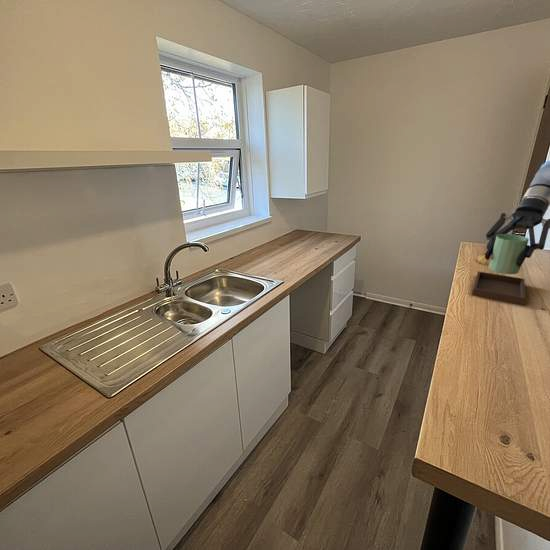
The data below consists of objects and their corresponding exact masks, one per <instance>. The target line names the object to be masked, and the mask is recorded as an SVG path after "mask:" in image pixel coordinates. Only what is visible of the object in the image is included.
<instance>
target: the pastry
mask: <svg viewBox="0 0 550 550" xmlns="http://www.w3.org/2000/svg"><path fill="white" fill-rule="evenodd" d="M485 254H486V252H483V253H481V254H480V255H478V257H477V258H476V260H477V262H478V263H481V264H483V265H486V266H489V262H490V258H491V256H490V258H489V259H488V260H487V259H485Z"/></svg>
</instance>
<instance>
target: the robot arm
mask: <svg viewBox="0 0 550 550" xmlns="http://www.w3.org/2000/svg"><path fill="white" fill-rule="evenodd" d="M549 207H550V160H548V161H546V162H544V163H543V164H542V165H541V166H540V167H539V169H538V170H537V171H536V173H535V175H534V177H533V179H532V181H531V182H530V184H529V187H528V188H527V190H526V191H525V193H524V195H523V197H522V198H521V201H520V202H519V203H518V205H517V207H516V209H515V211H514V212H513V213H511V214H506V213H505V212H502V213H501V214H500V216H499V219H498V220H497V221H496V222H495V223H494V224H493V226H491V228H490V229H489V230H488V231H487V233H486V234H485V238H486V240H488V242H487V244H486V252H485V253H486V254H485V259H487V260H488V259H489V258H490V256H491V254H492V250H493V246H494V242H495V238H496V235H499V234H510V232H511V231H514V230H515V229H524V230H528V234H529V244H527V245H526V247H525V249H524V251H523V252H522V254H521V256H520V258H519V259H518V261H517V267H520V268H521V267H522V265H523V263H524V262H525V260H526V258H527V259H530V258H531V257H532V255H533V253H534V251H535V250H541V251H543V250H544V249H545V245H546V242H547V238H548V234H549V230H550V218H548V219H546V218H544V216H545V215H546V213H547V210H548V209H549ZM508 220H510V221H509V222H508ZM507 222H508V223H507ZM505 223H507V224H505ZM540 224H541V225H542V229H541V232H540V237H539V241H538V242H537V243H536V237H535V236H536V235H535V227H536V226H538V225H540ZM504 225H505V226H504ZM503 226H504V227H503Z"/></svg>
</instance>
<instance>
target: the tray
mask: <svg viewBox="0 0 550 550" xmlns="http://www.w3.org/2000/svg"><path fill="white" fill-rule="evenodd" d="M525 282H526V281H525V278H522V277H516V276H509V275H505V274H499V273H491V272H487V271H485V272H484V271H477V273H476V277H475V280H474V285H473V288H472V293H471V296H474V297H479V298H483V299H489V300H494V301H499V302H504V303H509V304H513V305H517V306H518V305H519V306H524V305H525V302H526V299H527V298H526V283H525Z"/></svg>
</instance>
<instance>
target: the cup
mask: <svg viewBox="0 0 550 550" xmlns="http://www.w3.org/2000/svg"><path fill="white" fill-rule="evenodd" d="M528 243H529V238H528V237H526V236H523V235H519V234H511V233H507V234H499V235H496V238H495V242H494V246H493V250H492V254H491V258H490V262H489V265H488V267H487V268H488V269H489V270H490V271H492V272H495V273H497V274H501V275H516V274H519V272H520V270H521V267H517V261H518V259H519V258H520V256H521V254H522V252H523V251H524V249H525V247H526V245H529V244H528Z"/></svg>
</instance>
